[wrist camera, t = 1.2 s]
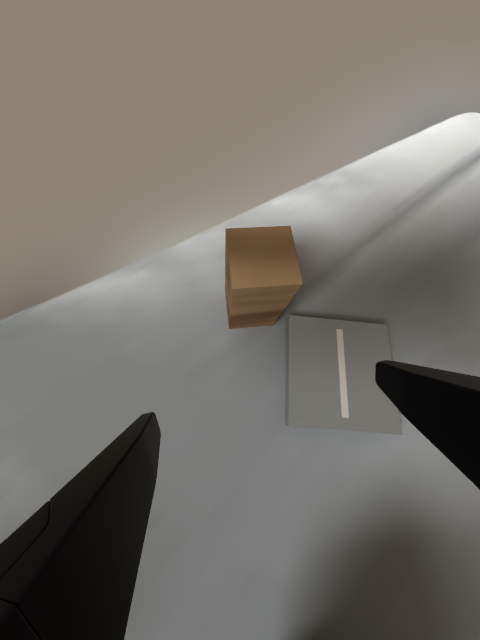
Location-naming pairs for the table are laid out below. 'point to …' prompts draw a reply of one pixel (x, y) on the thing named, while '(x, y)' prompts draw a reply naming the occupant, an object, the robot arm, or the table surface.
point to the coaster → (337, 376)
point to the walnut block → (259, 274)
